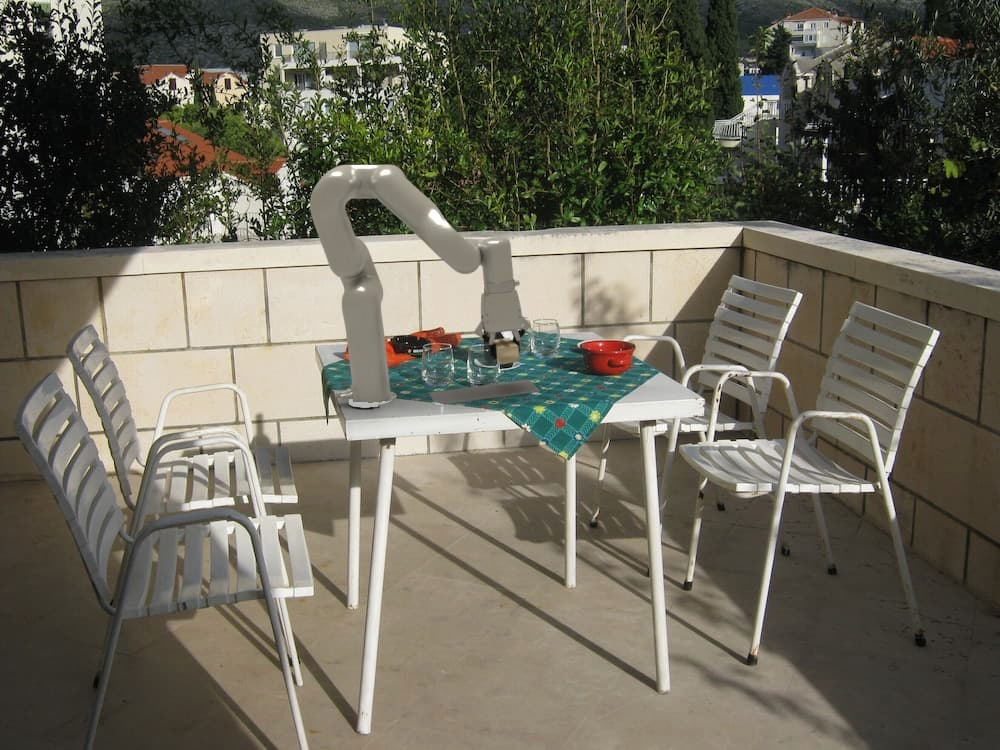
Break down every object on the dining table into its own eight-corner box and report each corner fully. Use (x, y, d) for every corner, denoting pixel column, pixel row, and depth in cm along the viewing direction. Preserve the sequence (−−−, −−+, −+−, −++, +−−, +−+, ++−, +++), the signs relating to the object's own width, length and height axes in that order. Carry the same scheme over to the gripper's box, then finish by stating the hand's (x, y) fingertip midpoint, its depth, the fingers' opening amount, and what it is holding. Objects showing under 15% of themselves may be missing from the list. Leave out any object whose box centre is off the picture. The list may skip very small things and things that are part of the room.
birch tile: (491, 355, 279) (490, 339, 278) (510, 352, 280) (509, 337, 279) (500, 364, 270) (498, 348, 269) (519, 361, 271) (518, 345, 270)
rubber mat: (436, 407, 268) (436, 405, 268) (428, 394, 279) (428, 392, 279) (540, 393, 273) (540, 391, 273) (528, 381, 285) (528, 379, 285)
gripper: (528, 280, 275) (533, 349, 280) (463, 288, 272) (469, 358, 277) (535, 285, 268) (541, 355, 273) (469, 294, 265) (475, 365, 270)
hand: (505, 356), depth 275 cm, fingers closed on birch tile, 5 cm apart
